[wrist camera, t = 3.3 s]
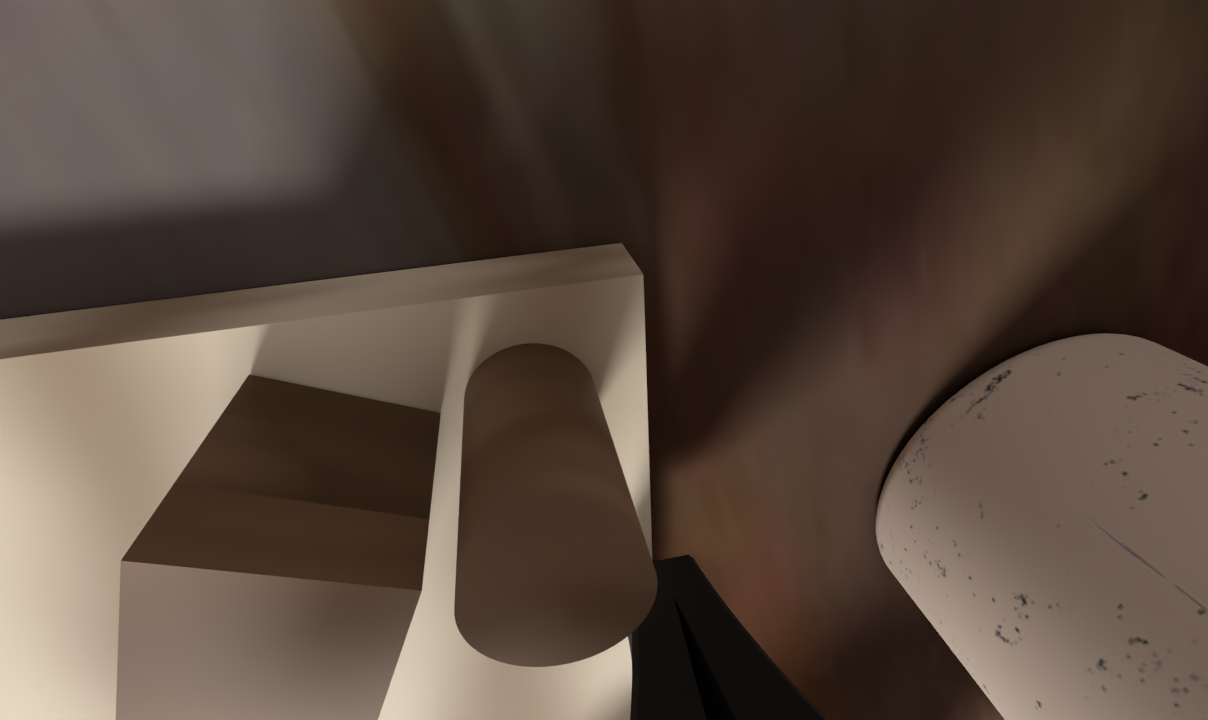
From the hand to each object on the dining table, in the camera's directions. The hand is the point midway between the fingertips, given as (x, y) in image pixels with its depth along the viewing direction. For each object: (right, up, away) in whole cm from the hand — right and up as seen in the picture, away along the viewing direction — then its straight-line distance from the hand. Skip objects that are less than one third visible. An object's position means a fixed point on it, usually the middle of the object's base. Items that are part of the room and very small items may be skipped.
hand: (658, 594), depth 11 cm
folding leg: (-8, -2, 0) cm, 8 cm away
